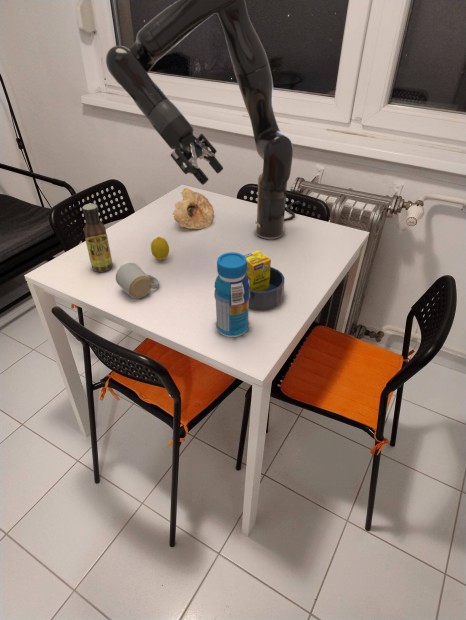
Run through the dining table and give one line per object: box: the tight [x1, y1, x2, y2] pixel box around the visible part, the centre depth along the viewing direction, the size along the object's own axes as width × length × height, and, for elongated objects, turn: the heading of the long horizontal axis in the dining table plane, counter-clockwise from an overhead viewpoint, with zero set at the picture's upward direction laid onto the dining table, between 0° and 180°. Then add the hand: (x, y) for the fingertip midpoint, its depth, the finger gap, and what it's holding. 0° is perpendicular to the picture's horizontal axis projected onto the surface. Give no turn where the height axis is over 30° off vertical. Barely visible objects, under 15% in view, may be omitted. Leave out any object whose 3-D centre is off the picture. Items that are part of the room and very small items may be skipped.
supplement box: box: [243, 249, 272, 292], centre depth 107 cm, size 6×6×11 cm
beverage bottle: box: [213, 251, 250, 338], centre depth 94 cm, size 8×8×20 cm
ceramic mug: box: [115, 262, 160, 299], centre depth 110 cm, size 11×8×8 cm
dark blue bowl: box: [249, 266, 286, 312], centre depth 108 cm, size 13×13×6 cm
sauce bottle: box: [82, 203, 113, 273], centre depth 116 cm, size 6×6×20 cm
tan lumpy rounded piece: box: [172, 187, 215, 230], centre depth 145 cm, size 18×14×8 cm
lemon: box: [150, 236, 170, 261], centre depth 123 cm, size 6×6×8 cm
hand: (213, 176), depth 103 cm, fingers open, 8 cm apart
